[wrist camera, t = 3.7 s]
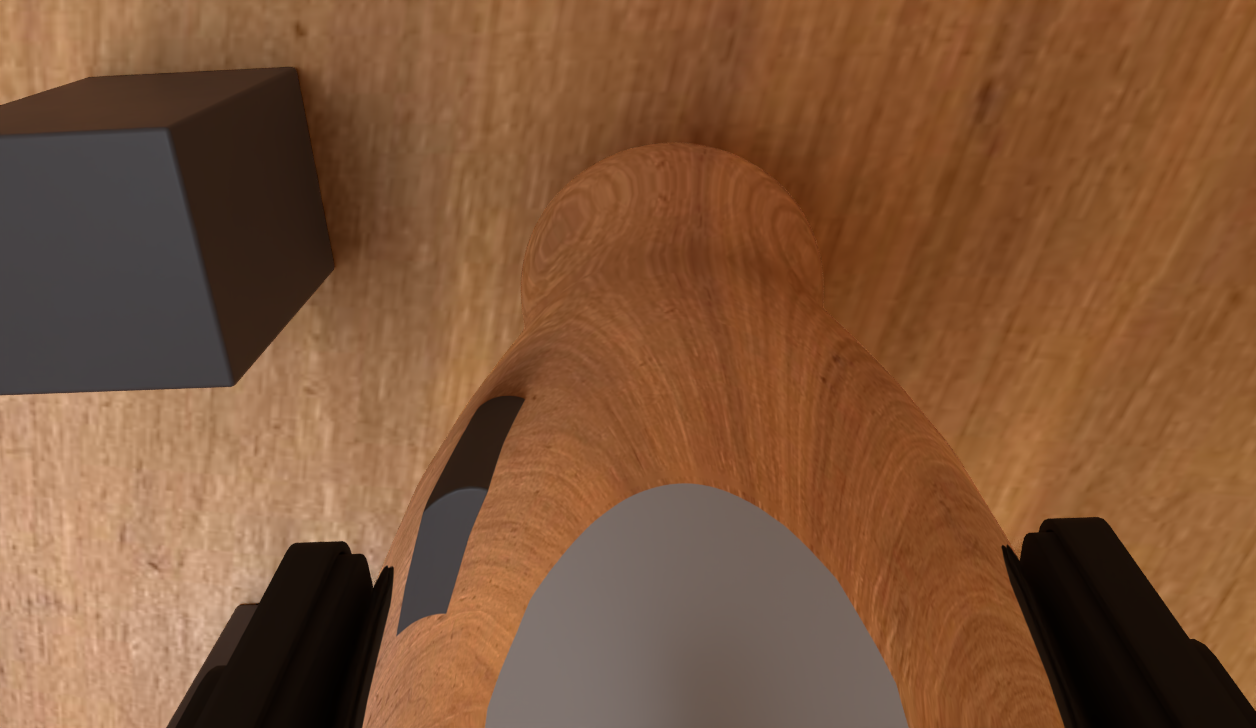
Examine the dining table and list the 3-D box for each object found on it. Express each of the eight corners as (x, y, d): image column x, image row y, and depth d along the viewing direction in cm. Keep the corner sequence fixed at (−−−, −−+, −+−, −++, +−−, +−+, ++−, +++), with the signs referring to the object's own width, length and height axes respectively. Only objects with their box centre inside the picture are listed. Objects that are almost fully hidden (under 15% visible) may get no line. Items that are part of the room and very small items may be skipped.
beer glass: (441, 332, 20) (53, 1212, 7) (619, 43, 18) (542, 576, 4) (712, 484, 22) (817, 1434, 9) (914, 240, 19) (1521, 1072, 6)
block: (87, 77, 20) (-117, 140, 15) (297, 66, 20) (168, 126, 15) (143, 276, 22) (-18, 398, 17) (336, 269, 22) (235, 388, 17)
